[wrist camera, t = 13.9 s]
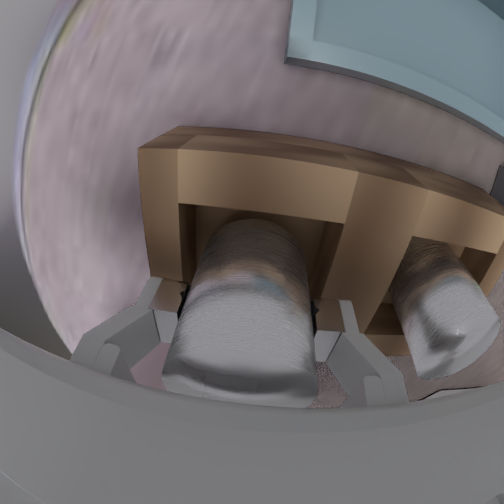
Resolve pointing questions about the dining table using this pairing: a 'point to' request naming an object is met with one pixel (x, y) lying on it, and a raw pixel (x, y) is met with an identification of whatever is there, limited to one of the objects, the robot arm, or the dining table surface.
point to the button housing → (499, 187)
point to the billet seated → (441, 309)
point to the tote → (410, 50)
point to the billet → (246, 322)
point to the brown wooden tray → (314, 213)
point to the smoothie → (152, 367)
